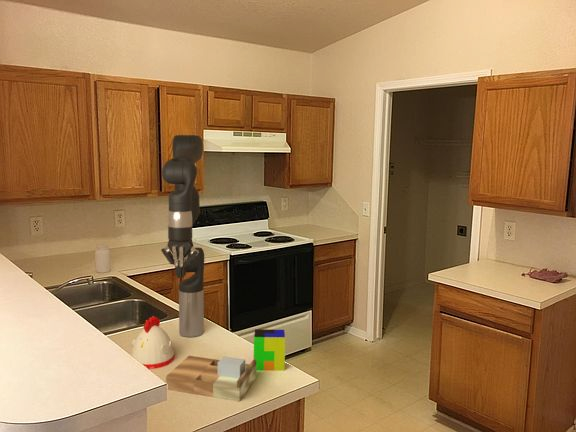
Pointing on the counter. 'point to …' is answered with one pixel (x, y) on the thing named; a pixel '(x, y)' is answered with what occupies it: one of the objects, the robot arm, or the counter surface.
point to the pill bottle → (102, 259)
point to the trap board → (209, 379)
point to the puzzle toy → (269, 349)
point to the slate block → (231, 367)
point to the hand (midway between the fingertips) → (180, 277)
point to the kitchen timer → (153, 346)
